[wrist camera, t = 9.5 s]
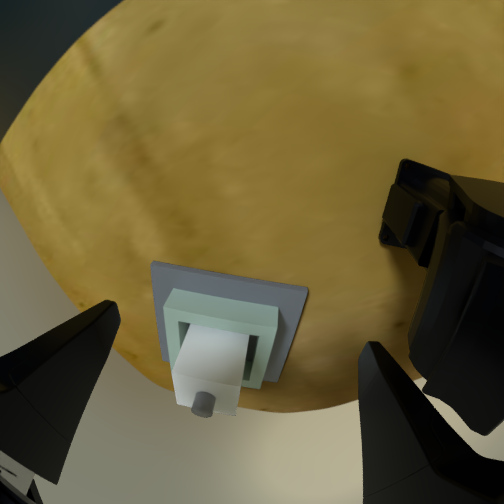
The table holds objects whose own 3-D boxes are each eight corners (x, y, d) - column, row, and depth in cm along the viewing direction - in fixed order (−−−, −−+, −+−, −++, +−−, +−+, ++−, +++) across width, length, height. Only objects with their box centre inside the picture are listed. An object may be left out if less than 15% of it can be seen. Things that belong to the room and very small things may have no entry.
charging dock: (307, 287, 22) (309, 312, 19) (277, 378, 29) (275, 400, 26) (153, 260, 22) (137, 281, 20) (164, 356, 29) (155, 377, 26)
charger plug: (251, 320, 24) (237, 404, 16) (245, 355, 26) (232, 430, 19) (195, 310, 24) (165, 388, 16) (196, 346, 26) (172, 417, 19)
